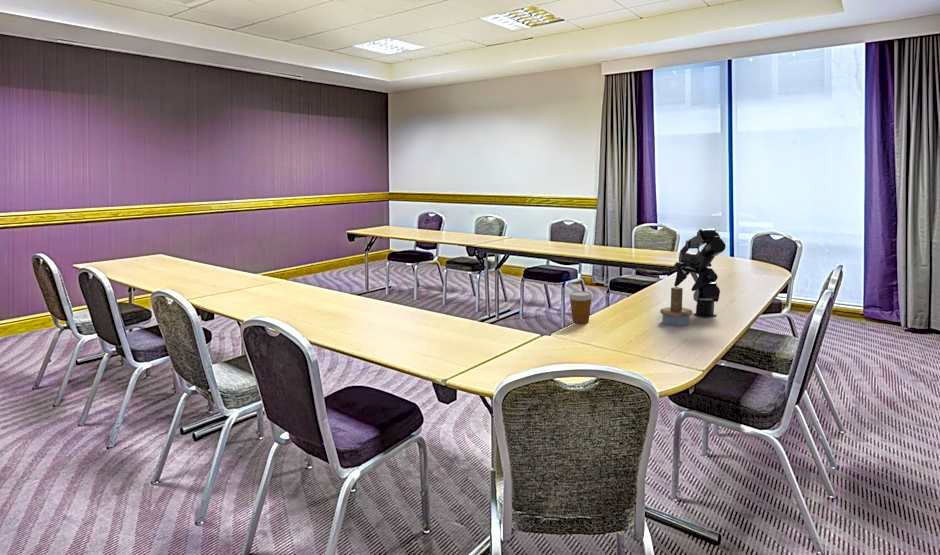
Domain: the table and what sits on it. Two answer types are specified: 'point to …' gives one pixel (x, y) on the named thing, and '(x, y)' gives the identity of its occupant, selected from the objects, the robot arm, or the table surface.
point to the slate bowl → (676, 320)
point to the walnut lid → (676, 304)
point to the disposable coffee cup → (580, 306)
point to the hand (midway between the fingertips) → (683, 288)
